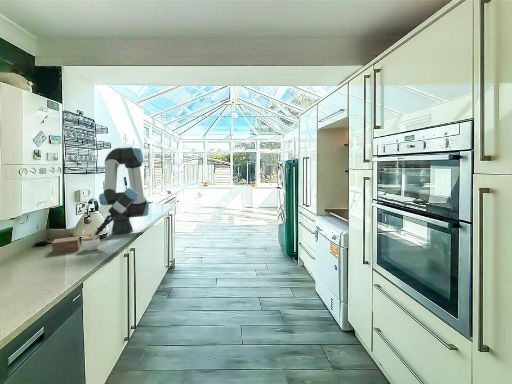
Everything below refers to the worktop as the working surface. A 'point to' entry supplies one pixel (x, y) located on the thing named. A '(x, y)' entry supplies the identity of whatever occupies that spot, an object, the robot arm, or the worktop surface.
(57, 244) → the walnut block
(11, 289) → the worktop surface
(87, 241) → the lidded jar
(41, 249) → the worktop surface
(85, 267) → the worktop surface
